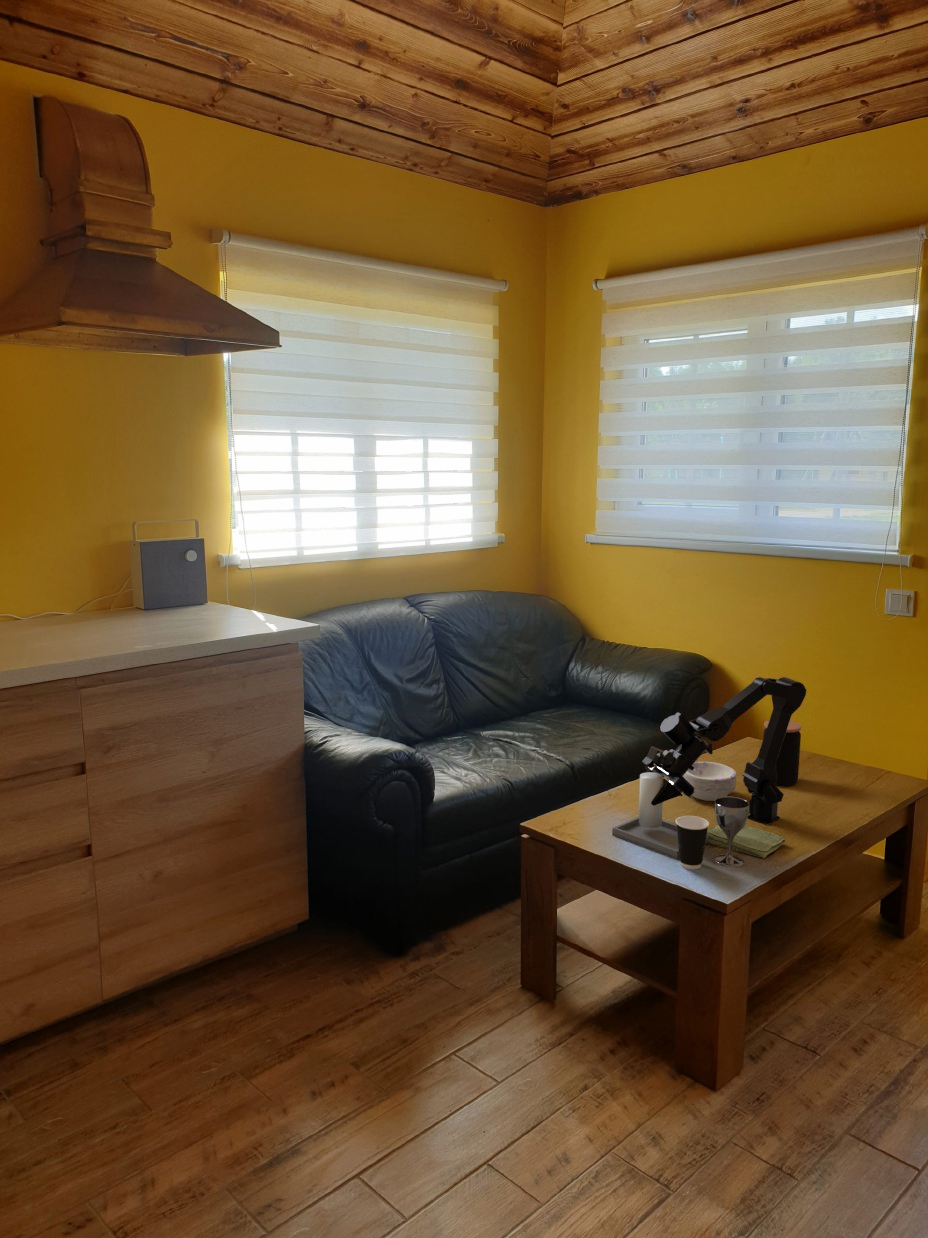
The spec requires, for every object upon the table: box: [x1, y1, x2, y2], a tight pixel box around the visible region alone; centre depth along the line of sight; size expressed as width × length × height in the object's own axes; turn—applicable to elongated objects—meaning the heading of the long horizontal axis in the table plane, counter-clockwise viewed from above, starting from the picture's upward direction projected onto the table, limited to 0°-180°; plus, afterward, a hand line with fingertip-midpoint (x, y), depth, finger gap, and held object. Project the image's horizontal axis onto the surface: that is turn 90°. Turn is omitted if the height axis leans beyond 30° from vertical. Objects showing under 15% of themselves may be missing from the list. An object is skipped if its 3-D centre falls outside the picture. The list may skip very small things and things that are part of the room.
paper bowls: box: [682, 761, 737, 802], centre depth 268 cm, size 15×15×8 cm
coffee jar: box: [762, 719, 802, 788], centre depth 279 cm, size 11×11×18 cm
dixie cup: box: [675, 815, 710, 870], centre depth 223 cm, size 8×8×11 cm
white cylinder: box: [638, 771, 665, 828], centre depth 240 cm, size 6×6×13 cm
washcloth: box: [707, 824, 786, 859], centre depth 236 cm, size 13×18×3 cm
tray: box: [611, 816, 710, 860], centre depth 238 cm, size 20×14×2 cm
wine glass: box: [713, 795, 750, 868], centre depth 225 cm, size 8×8×15 cm
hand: (646, 800), depth 240 cm, fingers closed on white cylinder, 6 cm apart
